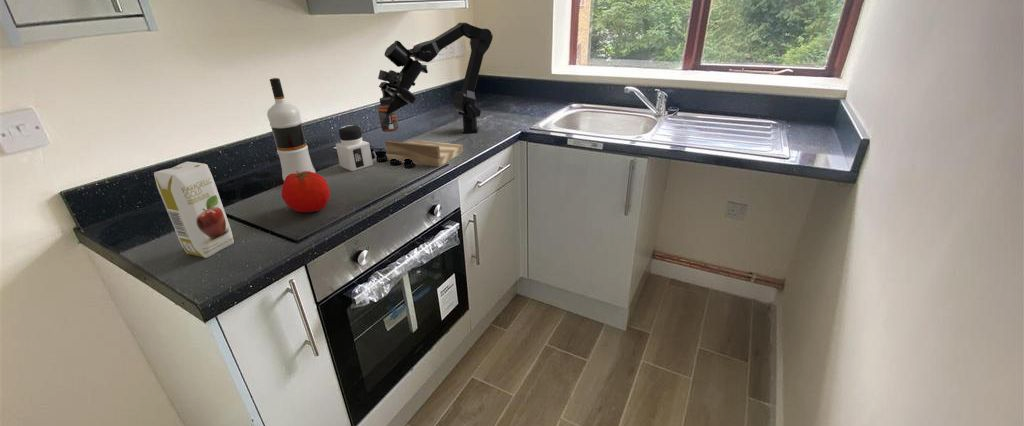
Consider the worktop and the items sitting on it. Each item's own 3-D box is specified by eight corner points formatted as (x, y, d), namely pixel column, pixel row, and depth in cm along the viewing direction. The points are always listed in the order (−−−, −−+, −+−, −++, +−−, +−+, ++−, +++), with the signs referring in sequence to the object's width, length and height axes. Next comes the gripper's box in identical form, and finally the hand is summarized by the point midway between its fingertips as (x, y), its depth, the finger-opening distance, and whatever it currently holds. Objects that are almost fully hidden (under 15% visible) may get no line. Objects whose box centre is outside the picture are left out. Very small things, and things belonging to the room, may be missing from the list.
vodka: (278, 186, 131) (248, 81, 117) (292, 174, 139) (266, 76, 126) (309, 185, 130) (283, 80, 117) (321, 173, 139) (298, 75, 126)
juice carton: (180, 255, 96) (146, 173, 87) (216, 237, 103) (188, 159, 94) (205, 261, 93) (171, 177, 85) (240, 241, 100) (213, 162, 92)
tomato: (309, 197, 122) (300, 162, 118) (344, 204, 117) (336, 168, 113) (274, 214, 113) (263, 177, 109) (310, 222, 108) (300, 184, 104)
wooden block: (414, 146, 162) (412, 129, 159) (463, 151, 154) (461, 133, 152) (387, 160, 148) (384, 141, 146) (439, 166, 141) (437, 147, 138)
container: (373, 165, 145) (366, 126, 139) (351, 171, 140) (343, 131, 134) (361, 160, 150) (354, 122, 144) (339, 166, 145) (331, 127, 139)
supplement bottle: (396, 132, 155) (391, 99, 150) (379, 132, 155) (374, 100, 150) (400, 127, 161) (395, 96, 156) (384, 128, 161) (378, 96, 156)
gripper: (379, 58, 156) (355, 94, 156) (401, 62, 143) (375, 102, 142) (403, 78, 164) (380, 112, 163) (426, 84, 151) (401, 122, 150)
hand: (383, 112), depth 154 cm, fingers closed on supplement bottle, 6 cm apart
